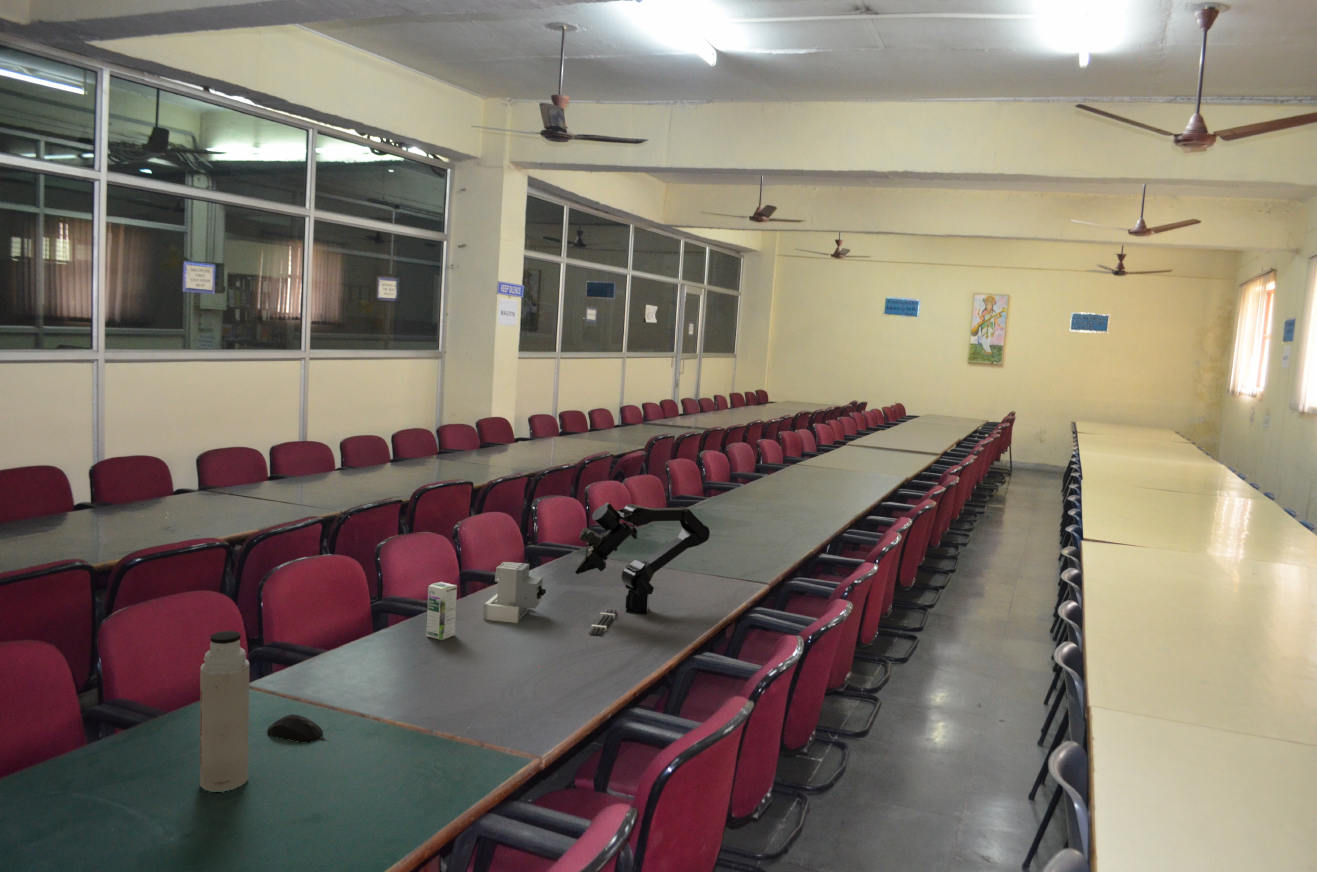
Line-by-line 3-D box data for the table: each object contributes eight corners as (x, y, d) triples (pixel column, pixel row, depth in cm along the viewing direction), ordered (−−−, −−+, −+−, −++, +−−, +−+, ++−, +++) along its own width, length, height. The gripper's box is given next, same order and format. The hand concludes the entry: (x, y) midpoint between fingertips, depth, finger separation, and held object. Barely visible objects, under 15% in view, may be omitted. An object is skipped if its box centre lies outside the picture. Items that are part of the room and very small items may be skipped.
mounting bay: (531, 608, 276) (532, 594, 276) (516, 622, 262) (517, 607, 262) (499, 605, 278) (499, 591, 277) (483, 619, 264) (483, 604, 263)
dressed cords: (618, 612, 277) (618, 609, 277) (602, 636, 255) (602, 632, 255) (604, 611, 278) (604, 607, 278) (587, 634, 256) (587, 630, 256)
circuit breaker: (540, 621, 265) (542, 571, 263) (493, 616, 267) (495, 567, 265) (546, 613, 272) (548, 565, 271) (501, 609, 274) (503, 561, 272)
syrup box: (425, 636, 246) (427, 585, 245) (440, 630, 252) (441, 580, 250) (441, 640, 244) (443, 588, 242) (455, 634, 249) (457, 584, 247)
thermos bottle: (192, 792, 160) (192, 641, 157) (210, 770, 168) (211, 626, 164) (238, 793, 160) (239, 642, 157) (254, 771, 168) (256, 627, 165)
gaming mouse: (321, 749, 179) (322, 730, 179) (260, 736, 183) (260, 717, 183) (341, 736, 185) (342, 718, 185) (281, 724, 189) (281, 705, 189)
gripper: (595, 513, 282) (558, 546, 282) (596, 526, 263) (557, 562, 264) (619, 538, 284) (582, 571, 284) (621, 553, 265) (583, 588, 265)
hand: (576, 572), depth 274 cm, fingers closed
